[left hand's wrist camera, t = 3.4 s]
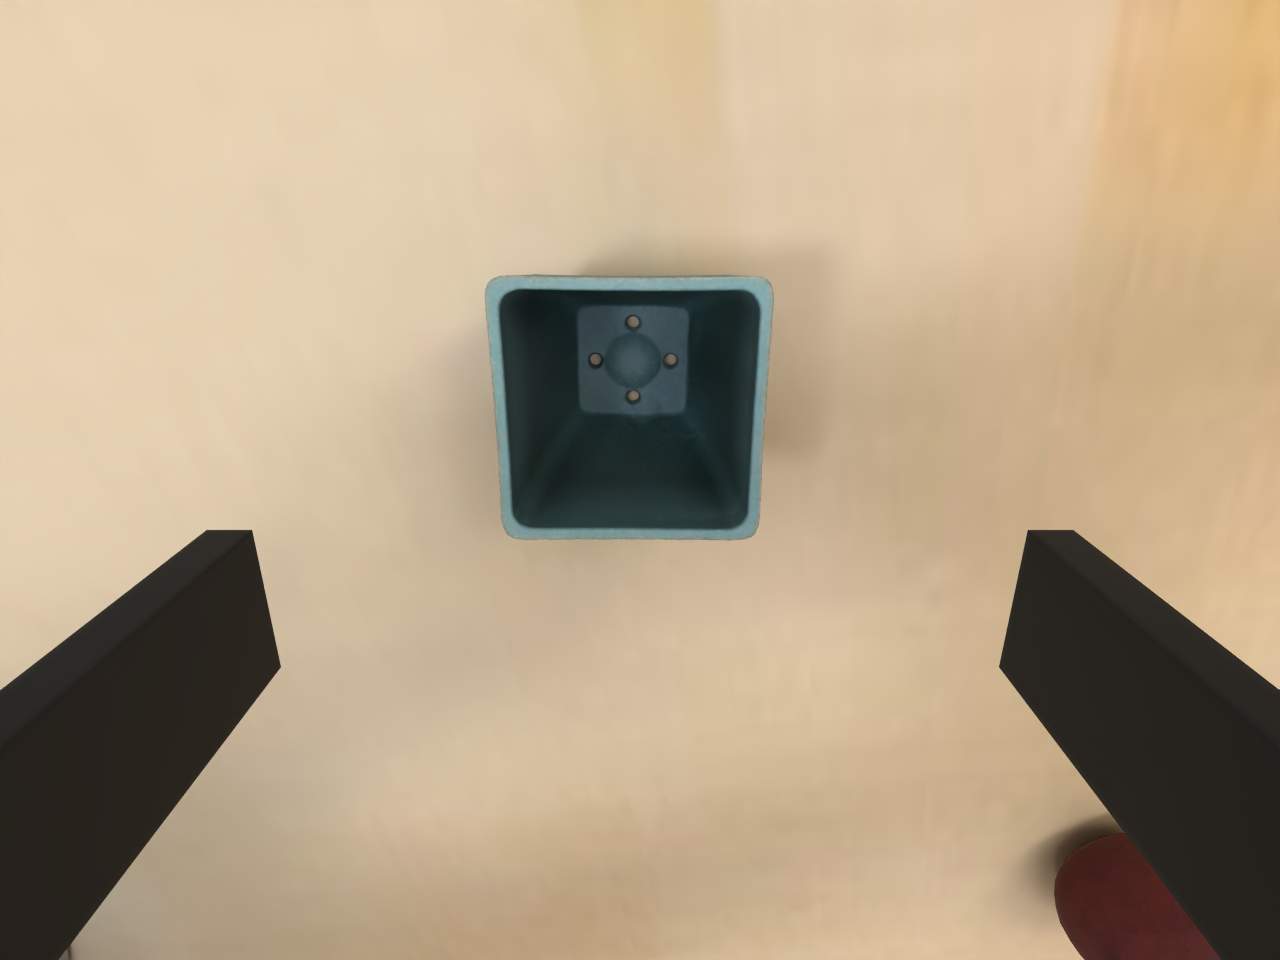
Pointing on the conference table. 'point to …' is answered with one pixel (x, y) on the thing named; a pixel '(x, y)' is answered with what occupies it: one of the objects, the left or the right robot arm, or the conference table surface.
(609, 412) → the square teal planter
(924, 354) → the conference table surface
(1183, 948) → the dark red ball
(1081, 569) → the left robot arm
